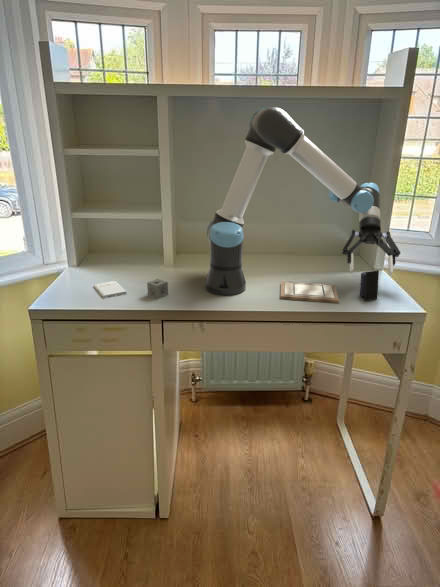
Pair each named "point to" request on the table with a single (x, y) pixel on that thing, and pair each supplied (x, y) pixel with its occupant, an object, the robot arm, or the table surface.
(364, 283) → the speaker
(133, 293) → the table surface
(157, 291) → the dice cube
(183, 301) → the table surface
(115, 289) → the external hard drive
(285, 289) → the picture frame
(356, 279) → the table surface
